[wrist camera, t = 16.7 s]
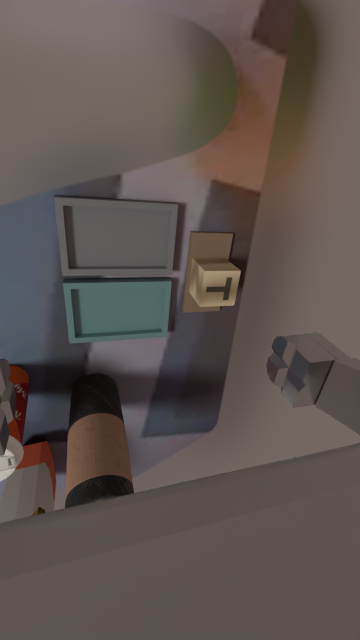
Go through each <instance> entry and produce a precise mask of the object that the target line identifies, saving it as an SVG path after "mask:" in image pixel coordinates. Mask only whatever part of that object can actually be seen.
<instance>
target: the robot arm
mask: <svg viewBox="0 0 360 640" xmlns="http://www.w3.org/2000/svg"><path fill="white" fill-rule="evenodd" d="M272 349H273V350H274V352H273V353H272V354H271V356H270V357H269V358H268V362H267V373H268V376H269V378H270V380H271V381H272V382H273V383H274V384H275V385H277V386H279V387H280V388H281V393H282V395H283V396H284V397H285V398H286V399H287V401H288V402H289V403H290V405H291V406H292V407H293V408H294V407H302V406H308V405H315V406H316V407H317V408H319V409H321V410H322V411H324V412H325V413H327V414H328V415H330V416H331V417H333V418H335V419H336V420H338V421H339V422H341V423H342V424H344V425H345V426H347V427H348V428H350V429H352V430H353V431H355V432H356V433H358V434H359V435H360V360H359V359H356V358H353V359H351V358H350V357H349V356H348V355H346V354H345V353H344V352H342V351H341V350H340V349H339V348H337V347H336V346H335V345H334V344H332V343H331V342H330V341H328V340H327V339H326V338H325V337H323V336H322V335H321V334H319V333H316V332H313V333H304V334H299V335H288V336H278V337H276V338H275V340H274V341H273V344H272ZM10 372H11V370H10V366H9V363H8V361H7V360H6V359H0V456H3V455H4V454H5V451H6V447H7V443H8V439H9V435H10V431H9V427H8V424H9V423H10V422H11V421H12V420H13V419H14V415H15V411H16V392H15V387H14V384H13V383H12V382H10V381H9V380H8V379H9V375H10ZM0 640H360V443H358V444H353V445H349V446H345V447H340V448H335V449H332V450H327V451H322V452H318V453H313V454H309V455H305V456H300V457H295V458H291V459H286V460H282V461H277V462H273V463H268V464H264V465H260V466H255V467H250V468H246V469H241V470H237V471H232V472H228V473H223V474H218V475H214V476H209V477H205V478H201V479H196V480H192V481H187V482H182V483H178V484H174V485H169V486H164V487H160V488H155V489H151V490H147V491H142V492H137V493H133V494H128V495H124V496H119V497H115V498H110V499H106V500H101V501H97V502H92V503H88V504H83V505H79V506H74V507H70V508H65V509H61V510H57V511H52V512H47V513H43V514H38V515H34V516H29V517H24V518H20V519H15V520H11V521H6V522H2V523H0Z"/></svg>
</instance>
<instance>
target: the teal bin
mask: <svg viewBox="0 0 360 640" xmlns="http://www.w3.org/2000/svg"><path fill="white" fill-rule="evenodd" d="M171 284H172V281H171V279H170V278H169V277H156V278H87V279H64V281H63V287H64V296H65V306H66V315H67V325H68V334H69V343H83V342H97V341H111V340H124V339H138V338H151V337H165V336H167V331H168V319H169V307H170V296H171Z"/></svg>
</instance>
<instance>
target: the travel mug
mask: <svg viewBox="0 0 360 640" xmlns="http://www.w3.org/2000/svg"><path fill="white" fill-rule="evenodd" d="M133 493H134V490H133V483H132V476H131V468H130V461H129V454H128V447H127V439H126V432H125V425H124V420H123V415H122V410H121V404H120V399H119V394H118V389H117V385H116V383H115V381H114V380H113V379H112V378H111V377H109V376H107V375H104V374H90V375H87V376H84V377H82V378H81V379H79V380H78V381H77V382H76V383H75V385H74V386H73V389H72V395H71V406H70V417H69V428H68V445H67V471H66V497H65V508H70V507H74V506H79V505H83V504H88V503H92V502H97V501H101V500H106V499H110V498H115V497H119V496H124V495H128V494H133Z"/></svg>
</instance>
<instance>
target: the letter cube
mask: <svg viewBox="0 0 360 640" xmlns="http://www.w3.org/2000/svg"><path fill="white" fill-rule="evenodd" d="M240 273H241V270H239V269H238V268H237V267H236V266H234V265H233V264H232V263H231V262H229V261H228V260H227V259H217V258H193V259H192V267H191V276H190V284H189V293H190V294H191V295H192V297H193V298H194V300H195V301H196V302H197V304H198V305H199V306H200V307H209V306H231V305H234V303H235V298H236V293H237V288H238V283H239V278H240Z"/></svg>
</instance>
